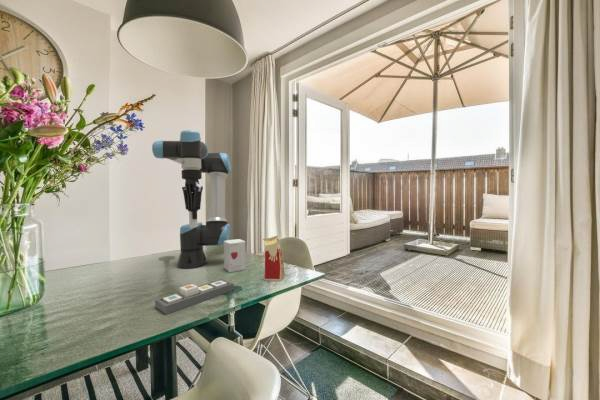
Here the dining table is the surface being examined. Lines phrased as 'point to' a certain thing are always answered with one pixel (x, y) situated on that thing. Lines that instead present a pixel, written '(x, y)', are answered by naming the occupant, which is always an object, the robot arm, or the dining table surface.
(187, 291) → the key rust
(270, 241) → the milk carton
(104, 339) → the dining table surface
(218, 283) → the key slate
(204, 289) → the key ochre
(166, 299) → the key teal
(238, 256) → the supplement box
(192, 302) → the keypad
